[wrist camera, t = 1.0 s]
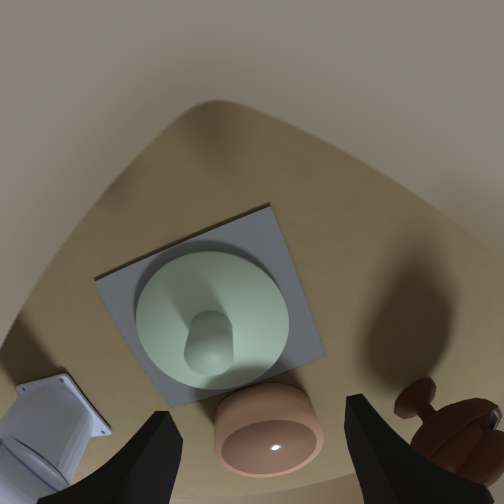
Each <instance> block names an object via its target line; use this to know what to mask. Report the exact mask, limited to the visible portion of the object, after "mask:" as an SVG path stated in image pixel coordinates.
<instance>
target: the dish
mask: <svg viewBox="0 0 504 504" xmlns="http://www.w3.org/2000/svg"><path fill="white" fill-rule="evenodd" d="M323 442H324V436H323V433H322V430H321V427H320V425H319V422H318V419H317V417H316V414H315V411H314V409H313V406H312V403H311V401H310V399H309V398H308V397H307V395H306V394H305V393H303V392H302V391H301V390H299V389H297V388H295V387H293V386H290V385H287V384H282V383H258V384H253V385H249V386H246V387H243V388H240V389H238V390H236V391H234V392H232V393H231V394H229V395H228V396H227V397H226V398H224V399H223V400H222V402H221V403H220V404H219V406H218V407H217V410H216V412H215V421H214V455H215V458H216V460H217V461H218V462H219V464H220V465H222V466H223V467H224V468H226V469H227V470H229V471H231V472H233V473H236V474H239V475H243V476H248V477H274V476H279V475H283V474H287V473H290V472H293V471H295V470H297V469H299V468H301V467H303V466H305V465H306V464H308V463H309V462H310V461H312V460H313V459H314V458H315V457H316V456H317V454H318V453H319V452H320V450H321V448H322V446H323Z"/></svg>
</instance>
